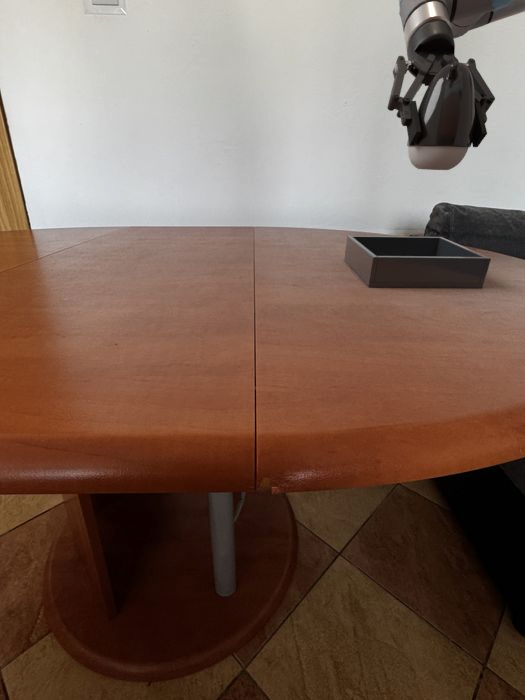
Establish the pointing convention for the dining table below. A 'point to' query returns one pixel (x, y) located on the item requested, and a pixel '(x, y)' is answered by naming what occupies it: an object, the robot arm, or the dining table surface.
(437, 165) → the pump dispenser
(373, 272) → the dark brown tray
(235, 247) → the dining table surface
